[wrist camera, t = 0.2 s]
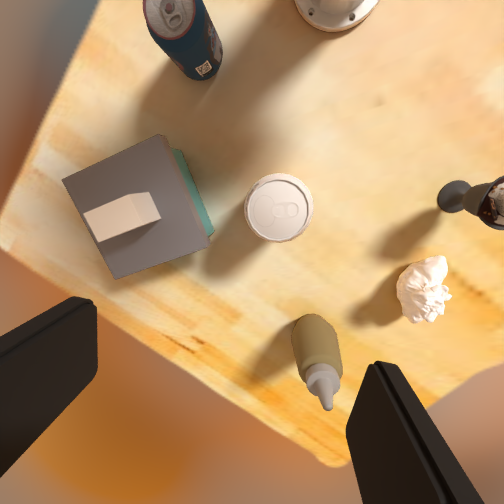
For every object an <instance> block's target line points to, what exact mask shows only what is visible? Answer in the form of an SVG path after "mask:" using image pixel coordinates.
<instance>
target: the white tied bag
mask: <svg viewBox="0 0 504 504" xmlns="http://www.w3.org/2000/svg"><path fill="white" fill-rule="evenodd" d="M447 272H448V267H447V263H446V258H445V257H444V256H438V255H437V256H434V257H429V258H427V259H424V260H422V261H420V262H416V263H412V264H410V265H409V266H408V267H407V268H406V270H404V271H403V272H402V273H401V275H400V276H399V279H398V281H397V285H396V287H397V298H398V299H399V300H400V303H401V305H402V313H403V315H404V316H405V317H407V318H408V320H409V321H410V322H411V323H418V322H420V321H422V320H424V319H425V320H426V321H427V322H433V321H434V320H435V318H436V316H437V315H443V314H444V308H445V305H444V301H447V300H450V298H452V296H451V294H447V293H448V287H447V286H445V285H441V283H442V282H443V279H444V278H445V277H446V275H447Z"/></svg>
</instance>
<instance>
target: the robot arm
mask: <svg viewBox="0 0 504 504" xmlns="http://www.w3.org/2000/svg"><path fill="white" fill-rule="evenodd" d="M294 1H295V4H296V6H297V9H298V11H299V13H300V14H301V15H302V17H303V18H304V19H305V20H306V21H307V22H308V23H309V24H310V25H311V26H313V27H315V28H317V29H319V30H323V31H326V32H339V31H344V30H347V29H349V28H352V27H354V26H355V25H357V24H358V23H360V22H361V21H363V20H364V19H365V18H366V17H367V16H368V15H369V14H370V13H371V12H372V11H373V9H374V8H375V7H376V5H377V4H378V2H379V0H294ZM309 14H312V16H310V15H309ZM349 19H351V20H352V21H350V20H349ZM97 364H98V357H97V307H96V306H95V305H94V304H93V301H92V300H90V299H85V298H80V297H76V296H73V297H70V298H68V299H66V300H65V301H63V302H61V303H59V304H58V305H56V306H54V307H52V308H50V309H49V310H47V311H45V312H43V313H42V314H40V315H38V316H36V317H34V318H33V319H31V320H29V321H27V322H26V323H24V324H22V325H20V326H19V327H17V328H15V329H13V330H11V331H10V332H8V333H6V334H4V335H2V336H1V337H0V477H2V475H3V474H4V473H5V472H6V471H7V470H8V469H9V468H10V467H11V466H12V465H13V464H14V463H15V462H16V460H18V458H19V457H20V456H21V455H22V454H23V453H24V452H25V451H26V450H27V449H28V448H29V447H30V446H31V444H32V443H33V442H34V441H35V440H36V439H37V438H38V437H39V436H40V435H41V434H42V433H43V432H44V431H45V430H46V429H47V427H48V426H49V425H50V424H51V423H52V422H53V421H54V420H55V419H56V418H57V417H58V416H59V415H60V414H61V413H62V412H63V410H64V409H65V408H66V407H67V406H68V405H69V404H70V403H71V402H72V401H73V400H74V399H75V398H76V397H77V396H78V394H79V393H80V392H81V391H82V390H83V389H84V388H85V387H86V386H87V385H88V384H89V383H90V382H91V381H92V379H93V378H94V376H95V375H96V372H97V368H98V365H97ZM346 439H347V443H348V447H349V450H350V454H351V458H352V462H353V466H354V470H355V474H356V477H357V482H358V486H359V490H360V494H361V497H362V502H363V504H484V502H483V500H482V499H481V497H480V496H479V494H478V492H477V491H476V489H475V488H474V486H473V485H472V483H471V481H470V480H469V478H468V477H467V475H466V473H465V472H464V470H463V469H462V467H461V465H460V464H459V462H458V461H457V459H456V458H455V456H454V454H453V453H452V451H451V450H450V448H449V447H448V445H447V443H446V442H445V440H444V438H443V437H442V435H441V434H440V432H439V431H438V429H437V427H436V426H435V424H434V423H433V421H432V420H431V418H430V416H429V415H428V413H427V411H426V410H425V408H424V407H423V405H422V403H421V402H420V400H419V399H418V397H417V396H416V394H415V392H414V391H413V389H412V388H411V386H410V384H409V383H408V381H407V380H406V378H405V376H404V375H403V373H402V372H401V370H400V369H399V367H398V366H397V365H395V364H392V363H387V362H382V361H376V362H375V363H374V364H370V365H369V366H368V368H367V371H366V373H365V376H364V379H363V381H362V384H361V387H360V390H359V392H358V395H357V398H356V400H355V403H354V406H353V409H352V411H351V414H350V417H349V419H348V422H347V425H346Z"/></svg>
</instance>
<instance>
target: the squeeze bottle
mask: <svg viewBox="0 0 504 504" xmlns="http://www.w3.org/2000/svg"><path fill="white" fill-rule="evenodd" d="M291 338H292V345H293V350H294V354H295V358H296V363H297V367H298V371H299V375H300V377H301V379H302V380H303V381H304V382H305V383H306V384H307V388H308V390H309V391H310V392H311V393H312V394H313V395H315V396H318V397H319V399H320V402H321V404H322V406H323V408H324V410H326V411H330V410H332V408H333V395H334V394H335V393H337V392H338V390H339V388H340V378H341V376H342V374H343V367H342V361H341V356H340V350H339V345H338V339H337V334H336V332H335V330H334V328H333V326H332V325H330V324H329V323H328V322H327V321H326V320H324V319H323V318H322V317H321V316H319V315H316V314H307V315H305V316H302V317H301V318H300V319H299V320H298V322H297V324H296V325H295V327H294V330H293V332H292V335H291Z"/></svg>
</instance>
